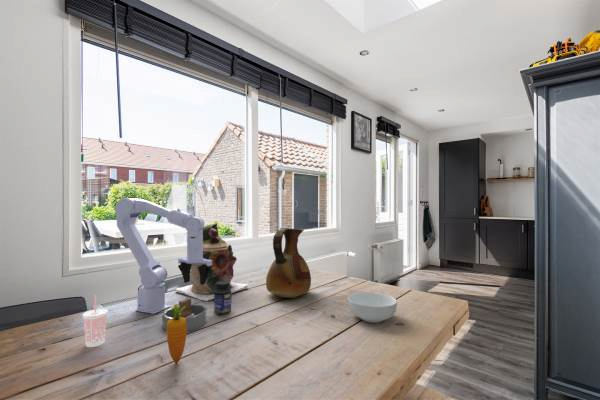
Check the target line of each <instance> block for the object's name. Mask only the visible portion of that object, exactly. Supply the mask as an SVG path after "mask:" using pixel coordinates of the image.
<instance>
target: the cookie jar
mask: <svg viewBox="0 0 600 400" xmlns="http://www.w3.org/2000/svg"><path fill="white" fill-rule="evenodd" d="M218 223H219V222H217V221H214V223H211V224H207V225H204V227H203V259H208V260H212V267H211V269H210V271H209V273H208V275H207V279H206V283H205V284H203V285H201V284H200V273H199V270H198V267H199V266H202V265H196V264H192V266H191V270H190V282H191V284H189V285H185V286H181V287H177V288H175V290H176V293H179V294H184V295H186V296H188V297H191V298H193V299H194V298H195V299H198V300H200V301H202V302H209V301H212V300H214V291H215V290H216V289H217V287H216V283H217V282H220V281H228V282H229V288H230V289H231V294H233V293H236V292H240V291H242V290H246V289H247V288H248V286H249V283H238V282H237V283H236V282H234V281H232V280H233V278H234V270H235V269H234V265H235V263H236V262H237V257H236V256H234V251H233V247H232V245H231V244H229V243H227V241H225V240H224V239H222V238H221V236H220V234H219V228H218Z"/></svg>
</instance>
